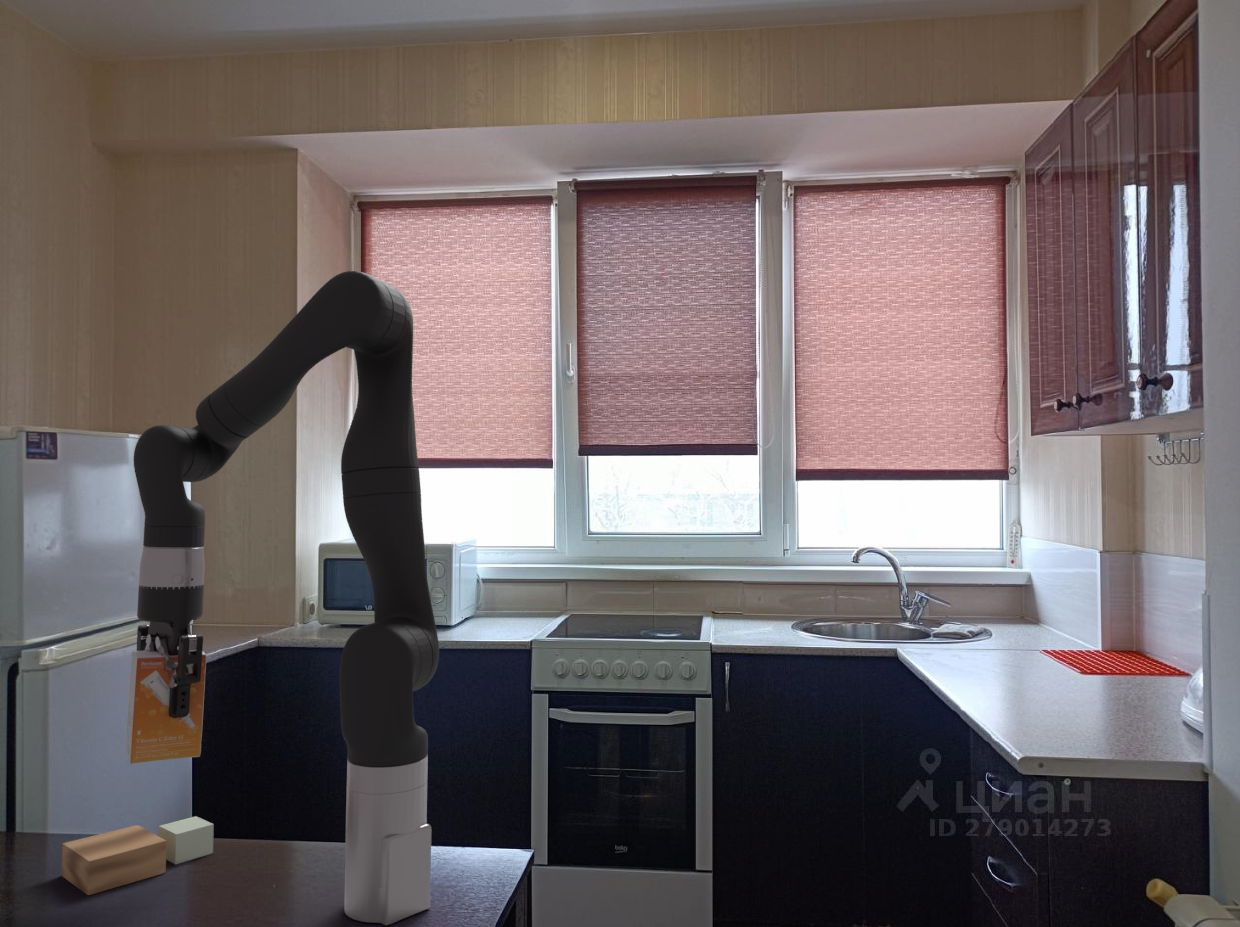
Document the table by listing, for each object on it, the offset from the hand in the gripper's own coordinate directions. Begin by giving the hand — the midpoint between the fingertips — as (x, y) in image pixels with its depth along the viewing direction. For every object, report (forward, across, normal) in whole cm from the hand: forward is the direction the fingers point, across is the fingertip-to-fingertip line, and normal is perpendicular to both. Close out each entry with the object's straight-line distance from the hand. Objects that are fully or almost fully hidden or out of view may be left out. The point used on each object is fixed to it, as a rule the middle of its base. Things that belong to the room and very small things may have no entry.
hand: (165, 711), depth 114 cm
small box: (+6, 0, 0) cm, 6 cm away
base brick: (+21, +5, +3) cm, 22 cm away
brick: (+21, +5, -6) cm, 22 cm away
